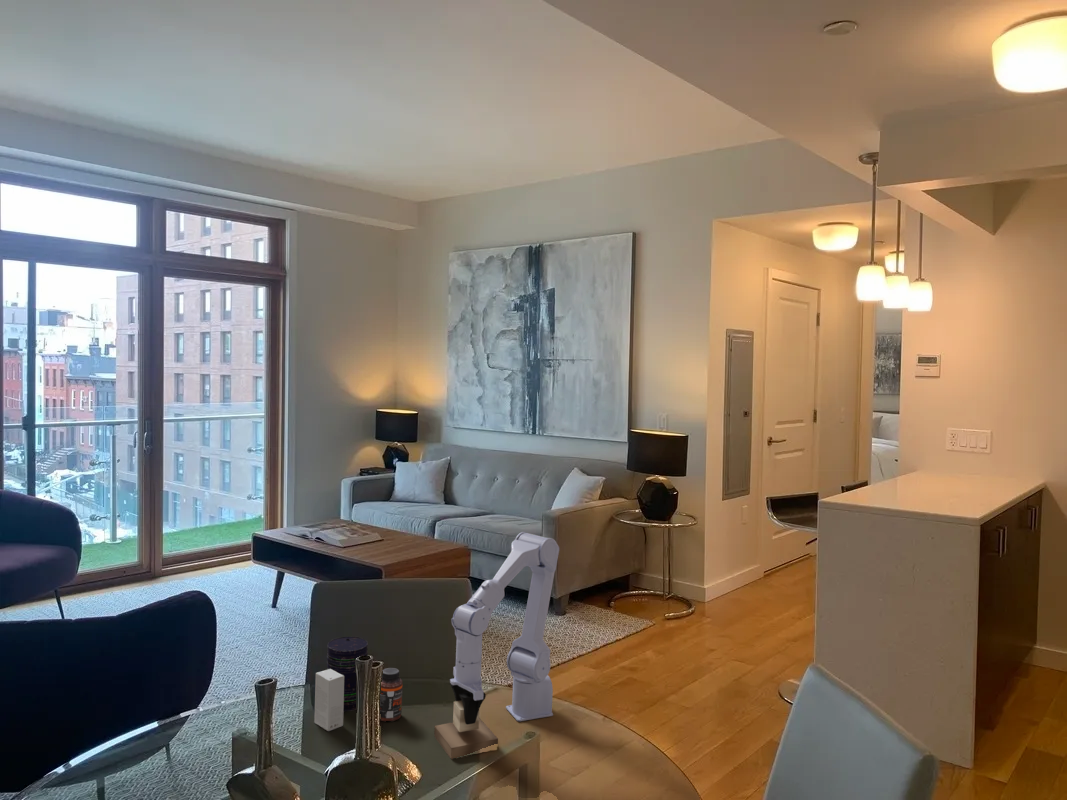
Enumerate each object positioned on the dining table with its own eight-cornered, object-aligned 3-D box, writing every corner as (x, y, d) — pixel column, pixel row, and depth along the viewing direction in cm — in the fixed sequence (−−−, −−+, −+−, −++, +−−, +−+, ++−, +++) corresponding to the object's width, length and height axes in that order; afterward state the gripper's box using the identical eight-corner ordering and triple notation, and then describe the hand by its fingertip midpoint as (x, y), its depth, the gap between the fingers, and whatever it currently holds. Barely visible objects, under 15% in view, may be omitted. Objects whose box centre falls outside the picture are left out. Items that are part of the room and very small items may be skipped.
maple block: (471, 720, 181) (472, 698, 181) (478, 728, 177) (479, 707, 177) (452, 723, 179) (453, 701, 179) (459, 732, 175) (460, 710, 175)
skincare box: (343, 726, 184) (345, 675, 183) (327, 732, 181) (329, 680, 180) (329, 717, 188) (330, 667, 187) (313, 722, 185) (314, 672, 184)
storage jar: (366, 710, 192) (368, 650, 191) (324, 712, 190) (326, 652, 189) (366, 693, 202) (367, 635, 201) (326, 695, 200) (327, 637, 199)
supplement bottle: (396, 724, 186) (397, 677, 185) (372, 721, 187) (373, 674, 186) (405, 713, 192) (406, 667, 191) (382, 710, 193) (383, 664, 192)
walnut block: (478, 729, 186) (479, 717, 186) (497, 751, 176) (498, 738, 176) (434, 738, 181) (434, 725, 181) (451, 761, 171) (451, 747, 171)
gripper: (441, 649, 182) (439, 707, 183) (462, 674, 169) (460, 735, 170) (470, 646, 185) (468, 702, 186) (493, 669, 172) (490, 730, 173)
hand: (466, 718), depth 178 cm, fingers closed on maple block, 4 cm apart
